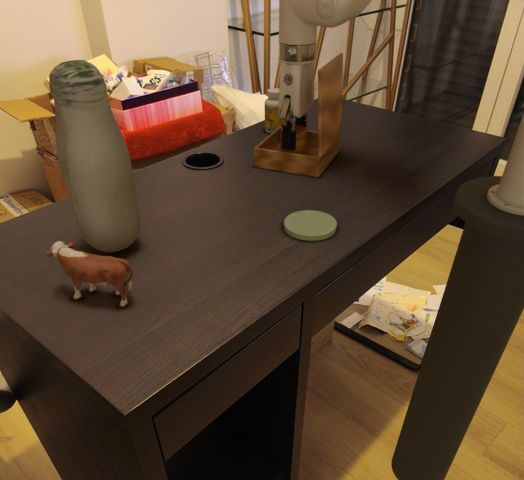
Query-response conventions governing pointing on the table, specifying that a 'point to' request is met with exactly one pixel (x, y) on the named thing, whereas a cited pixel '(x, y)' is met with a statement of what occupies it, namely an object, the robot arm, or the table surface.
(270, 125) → the supplement bottle
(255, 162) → the wooden box
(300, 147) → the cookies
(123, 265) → the bull figurine
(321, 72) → the lid
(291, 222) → the plate
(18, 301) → the table surface
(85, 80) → the grey green bottle
